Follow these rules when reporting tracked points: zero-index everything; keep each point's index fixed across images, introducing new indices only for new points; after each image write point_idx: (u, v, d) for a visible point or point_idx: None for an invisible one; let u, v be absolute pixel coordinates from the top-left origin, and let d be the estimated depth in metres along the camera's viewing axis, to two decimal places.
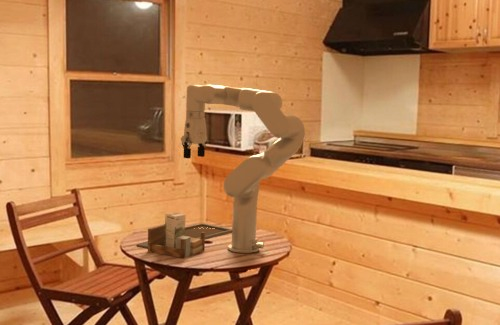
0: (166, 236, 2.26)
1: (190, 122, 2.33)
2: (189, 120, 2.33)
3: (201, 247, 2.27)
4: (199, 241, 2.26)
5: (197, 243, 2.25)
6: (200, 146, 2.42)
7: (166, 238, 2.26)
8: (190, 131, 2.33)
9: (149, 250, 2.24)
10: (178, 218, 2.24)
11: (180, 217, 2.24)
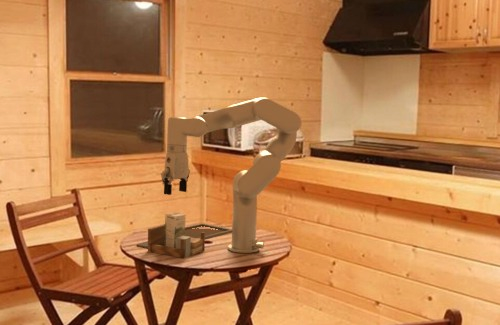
0: (166, 236, 2.26)
1: (171, 156, 2.20)
2: (170, 154, 2.20)
3: (201, 247, 2.27)
4: (200, 241, 2.26)
5: (198, 243, 2.25)
6: (182, 181, 2.29)
7: (166, 238, 2.26)
8: (171, 166, 2.19)
9: (149, 250, 2.24)
10: (178, 218, 2.24)
11: (180, 217, 2.24)
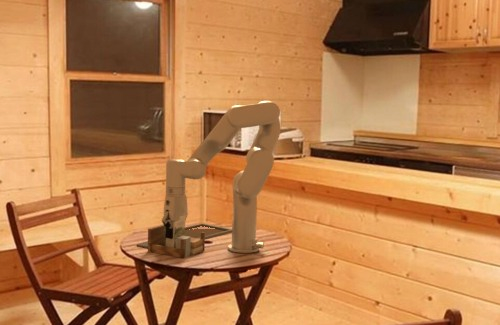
0: None
1: (170, 199, 2.21)
2: (169, 197, 2.21)
3: (201, 247, 2.27)
4: (199, 241, 2.26)
5: (197, 243, 2.24)
6: None
7: (166, 238, 2.26)
8: (170, 209, 2.21)
9: (149, 250, 2.24)
10: None
11: (180, 217, 2.24)
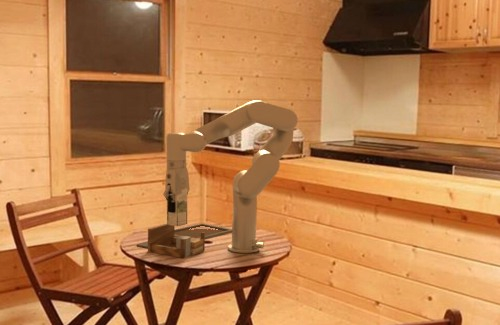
0: None
1: (171, 173, 2.20)
2: (170, 171, 2.20)
3: (202, 247, 2.27)
4: (200, 241, 2.25)
5: (198, 243, 2.24)
6: None
7: (168, 212, 2.25)
8: (172, 182, 2.20)
9: (149, 250, 2.24)
10: None
11: (182, 190, 2.23)
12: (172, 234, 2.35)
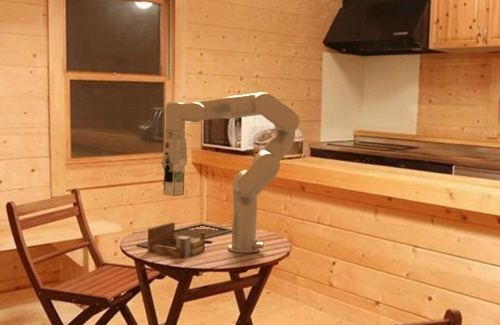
0: None
1: (169, 142, 2.19)
2: (168, 140, 2.19)
3: (202, 247, 2.27)
4: (200, 241, 2.26)
5: (198, 243, 2.24)
6: None
7: (165, 182, 2.24)
8: (170, 151, 2.19)
9: (149, 250, 2.24)
10: None
11: (180, 160, 2.22)
12: (172, 234, 2.35)
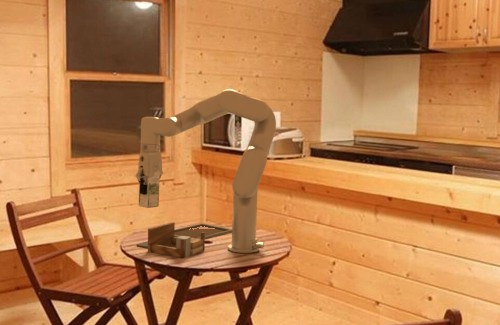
0: None
1: (144, 155, 2.25)
2: (143, 153, 2.25)
3: (201, 247, 2.27)
4: (199, 241, 2.25)
5: (197, 243, 2.24)
6: None
7: (140, 194, 2.30)
8: (144, 165, 2.25)
9: (149, 250, 2.24)
10: None
11: (154, 173, 2.29)
12: (172, 234, 2.35)
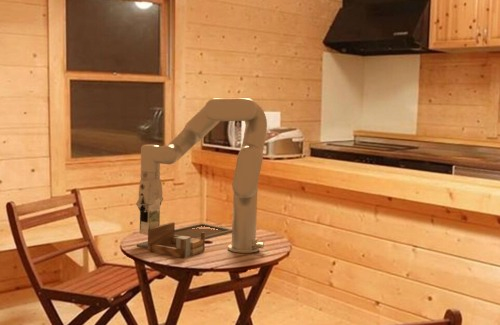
0: None
1: (144, 183, 2.26)
2: (143, 181, 2.27)
3: (202, 247, 2.27)
4: (200, 242, 2.25)
5: (197, 244, 2.24)
6: None
7: (141, 221, 2.31)
8: (144, 193, 2.26)
9: (149, 250, 2.24)
10: None
11: (155, 201, 2.30)
12: (172, 234, 2.35)
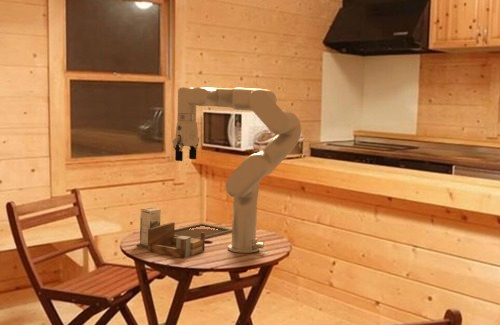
0: (142, 230, 2.32)
1: (182, 124, 2.31)
2: (181, 122, 2.32)
3: (201, 248, 2.26)
4: (199, 242, 2.25)
5: (197, 244, 2.24)
6: (192, 148, 2.41)
7: (142, 232, 2.32)
8: (182, 134, 2.31)
9: (149, 250, 2.24)
10: (153, 213, 2.30)
11: (155, 211, 2.31)
12: (172, 234, 2.35)
